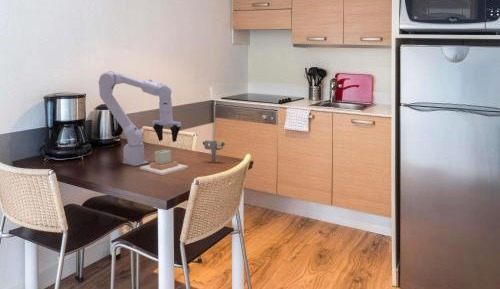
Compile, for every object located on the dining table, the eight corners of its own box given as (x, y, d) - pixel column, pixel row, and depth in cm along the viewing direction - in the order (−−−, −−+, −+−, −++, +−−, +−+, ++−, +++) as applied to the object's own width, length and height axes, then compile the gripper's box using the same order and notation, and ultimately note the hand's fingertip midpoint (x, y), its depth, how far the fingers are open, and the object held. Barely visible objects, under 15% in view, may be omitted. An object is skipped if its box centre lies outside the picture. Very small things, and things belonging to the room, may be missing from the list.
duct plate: (139, 169, 201) (139, 163, 201) (165, 162, 213) (165, 156, 212) (162, 175, 192) (162, 168, 192) (187, 168, 204) (187, 162, 203)
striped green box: (165, 164, 206) (165, 149, 204) (171, 165, 203) (171, 150, 202) (155, 167, 201) (154, 151, 200) (161, 168, 199) (160, 152, 197)
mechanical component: (223, 163, 212) (223, 142, 210) (202, 162, 214) (202, 141, 212) (225, 161, 215) (224, 141, 213) (204, 160, 217) (204, 140, 215)
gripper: (147, 112, 207) (149, 141, 210) (174, 114, 201) (176, 143, 204) (156, 110, 213) (158, 138, 216) (183, 111, 208) (184, 140, 211)
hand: (167, 140), depth 211 cm, fingers open, 7 cm apart
